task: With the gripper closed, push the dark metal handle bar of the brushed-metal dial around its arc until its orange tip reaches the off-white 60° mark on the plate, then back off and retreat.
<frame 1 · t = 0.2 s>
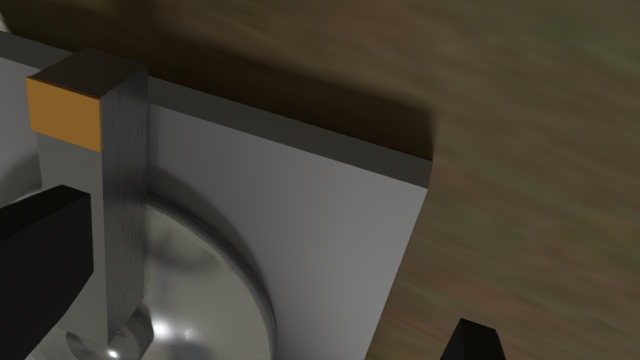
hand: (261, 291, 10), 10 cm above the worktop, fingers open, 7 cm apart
dial plate: (156, 276, 26), on the worktop
dial: (108, 291, 21), point 4 cm above the worktop, hinge at 0.0°
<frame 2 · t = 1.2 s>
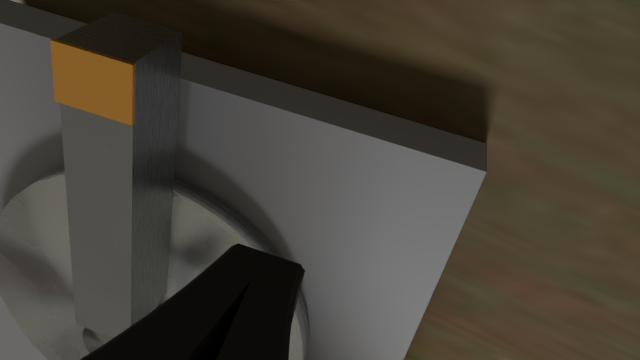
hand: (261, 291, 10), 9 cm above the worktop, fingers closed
dial plate: (176, 270, 24), on the worktop
dial: (130, 284, 19), point 4 cm above the worktop, hinge at 0.0°
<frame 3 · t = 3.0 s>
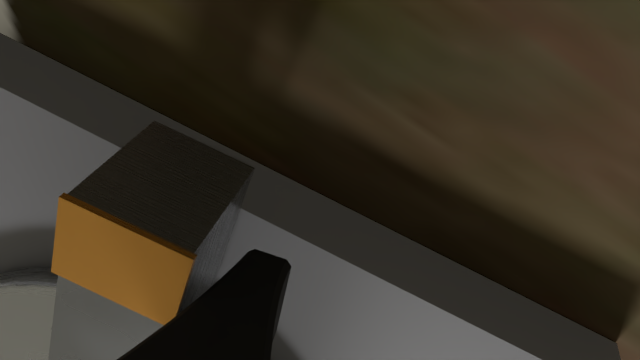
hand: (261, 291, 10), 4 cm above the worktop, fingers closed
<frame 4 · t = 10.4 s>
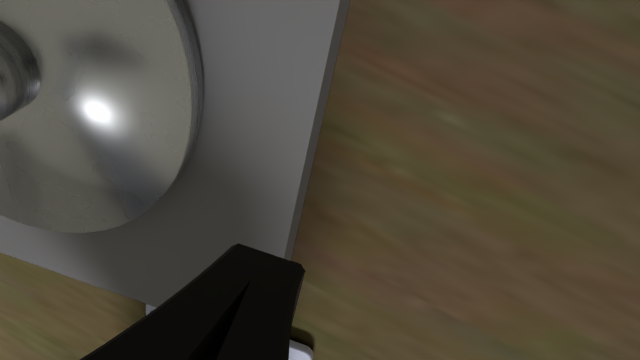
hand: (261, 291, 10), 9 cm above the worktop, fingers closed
dial plate: (58, 35, 20), on the worktop
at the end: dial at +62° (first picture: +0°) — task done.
